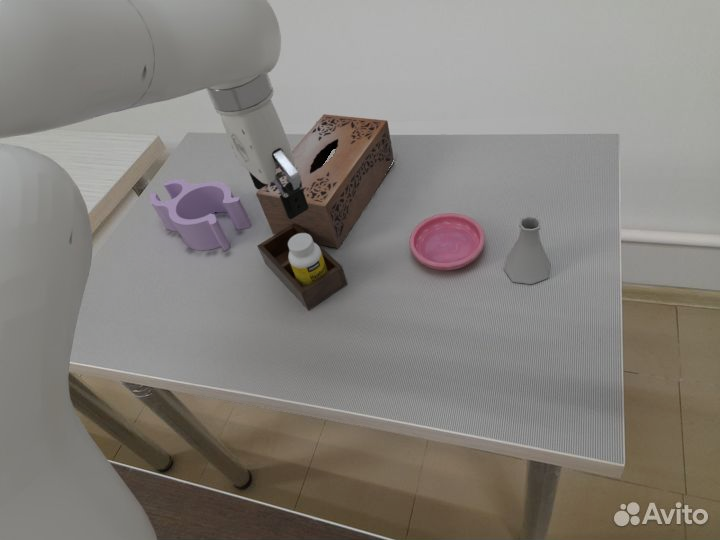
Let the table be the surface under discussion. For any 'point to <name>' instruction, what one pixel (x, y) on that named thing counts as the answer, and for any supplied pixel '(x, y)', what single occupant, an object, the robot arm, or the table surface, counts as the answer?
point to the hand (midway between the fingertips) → (281, 198)
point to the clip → (199, 212)
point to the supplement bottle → (305, 259)
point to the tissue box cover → (333, 177)
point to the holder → (278, 262)
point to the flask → (528, 254)
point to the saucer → (447, 241)
